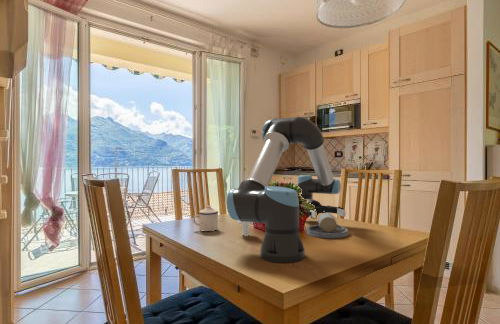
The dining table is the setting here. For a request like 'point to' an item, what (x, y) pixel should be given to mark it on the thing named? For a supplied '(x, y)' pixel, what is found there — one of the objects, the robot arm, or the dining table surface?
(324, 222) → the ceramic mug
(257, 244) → the dining table surface
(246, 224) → the strainer
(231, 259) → the dining table surface
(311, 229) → the saucer
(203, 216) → the teacup with lid
